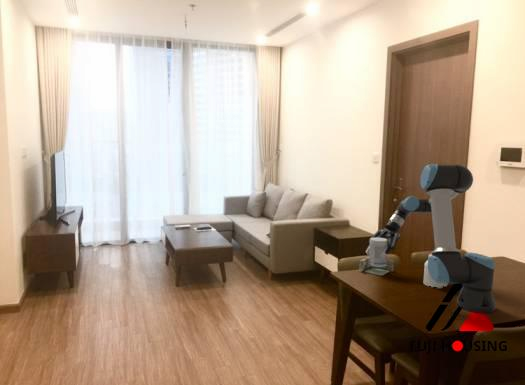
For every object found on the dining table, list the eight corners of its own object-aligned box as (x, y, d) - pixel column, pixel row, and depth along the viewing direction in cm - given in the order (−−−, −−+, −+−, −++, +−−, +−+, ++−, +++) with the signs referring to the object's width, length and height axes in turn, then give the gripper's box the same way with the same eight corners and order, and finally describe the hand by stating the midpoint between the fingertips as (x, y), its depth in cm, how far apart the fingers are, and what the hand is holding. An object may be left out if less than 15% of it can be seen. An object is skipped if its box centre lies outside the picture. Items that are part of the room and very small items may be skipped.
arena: (382, 276, 224) (382, 266, 224) (358, 271, 233) (359, 260, 232) (393, 271, 235) (393, 260, 235) (370, 266, 244) (371, 255, 243)
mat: (381, 275, 226) (381, 275, 226) (364, 271, 233) (364, 271, 233) (389, 271, 234) (389, 271, 234) (372, 267, 240) (372, 267, 240)
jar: (437, 289, 207) (440, 259, 206) (420, 283, 215) (422, 255, 213) (450, 285, 214) (452, 256, 213) (432, 279, 222) (434, 252, 220)
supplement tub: (389, 265, 233) (391, 239, 231) (380, 268, 227) (382, 242, 225) (374, 261, 240) (375, 236, 238) (365, 264, 234) (366, 238, 232)
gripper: (414, 232, 231) (393, 264, 224) (381, 225, 249) (361, 254, 242) (408, 223, 227) (388, 256, 220) (376, 216, 245) (355, 246, 238)
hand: (374, 255), depth 231 cm, fingers closed on supplement tub, 9 cm apart
